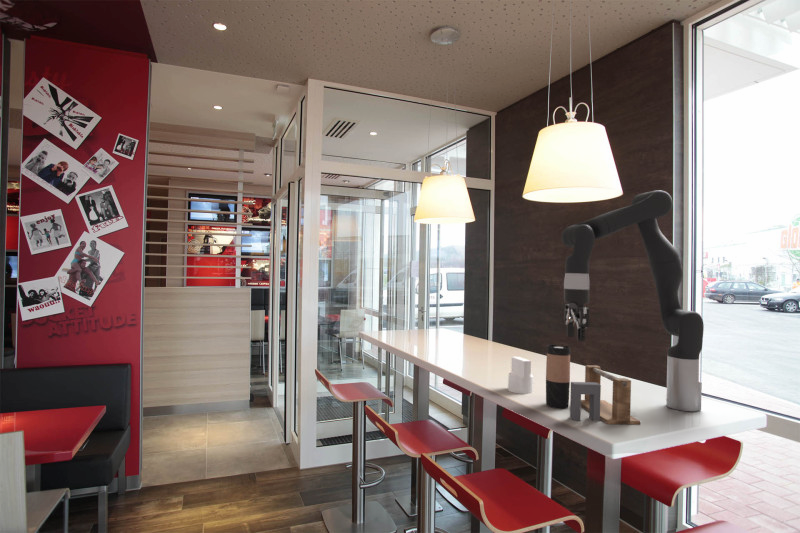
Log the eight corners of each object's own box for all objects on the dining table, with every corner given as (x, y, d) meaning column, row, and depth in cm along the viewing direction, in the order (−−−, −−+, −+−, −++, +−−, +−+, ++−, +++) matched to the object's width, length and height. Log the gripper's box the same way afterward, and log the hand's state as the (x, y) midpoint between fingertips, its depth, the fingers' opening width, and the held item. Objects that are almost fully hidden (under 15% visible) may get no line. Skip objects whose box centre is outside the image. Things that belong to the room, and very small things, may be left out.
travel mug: (553, 409, 149) (555, 348, 149) (540, 403, 156) (542, 344, 156) (574, 408, 151) (575, 348, 151) (560, 401, 158) (561, 344, 158)
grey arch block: (595, 417, 141) (596, 382, 141) (599, 421, 138) (600, 384, 138) (569, 417, 141) (570, 381, 141) (574, 420, 138) (574, 384, 138)
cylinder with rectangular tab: (503, 388, 175) (504, 357, 175) (523, 387, 178) (524, 356, 178) (516, 394, 167) (517, 361, 167) (537, 393, 169) (538, 360, 170)
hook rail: (604, 403, 158) (605, 365, 158) (639, 424, 136) (640, 380, 136) (576, 402, 158) (576, 365, 158) (607, 423, 136) (608, 380, 136)
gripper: (598, 289, 138) (597, 342, 137) (579, 287, 152) (578, 336, 152) (573, 288, 138) (572, 342, 137) (556, 286, 152) (555, 335, 152)
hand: (575, 338), depth 145 cm, fingers open, 8 cm apart
